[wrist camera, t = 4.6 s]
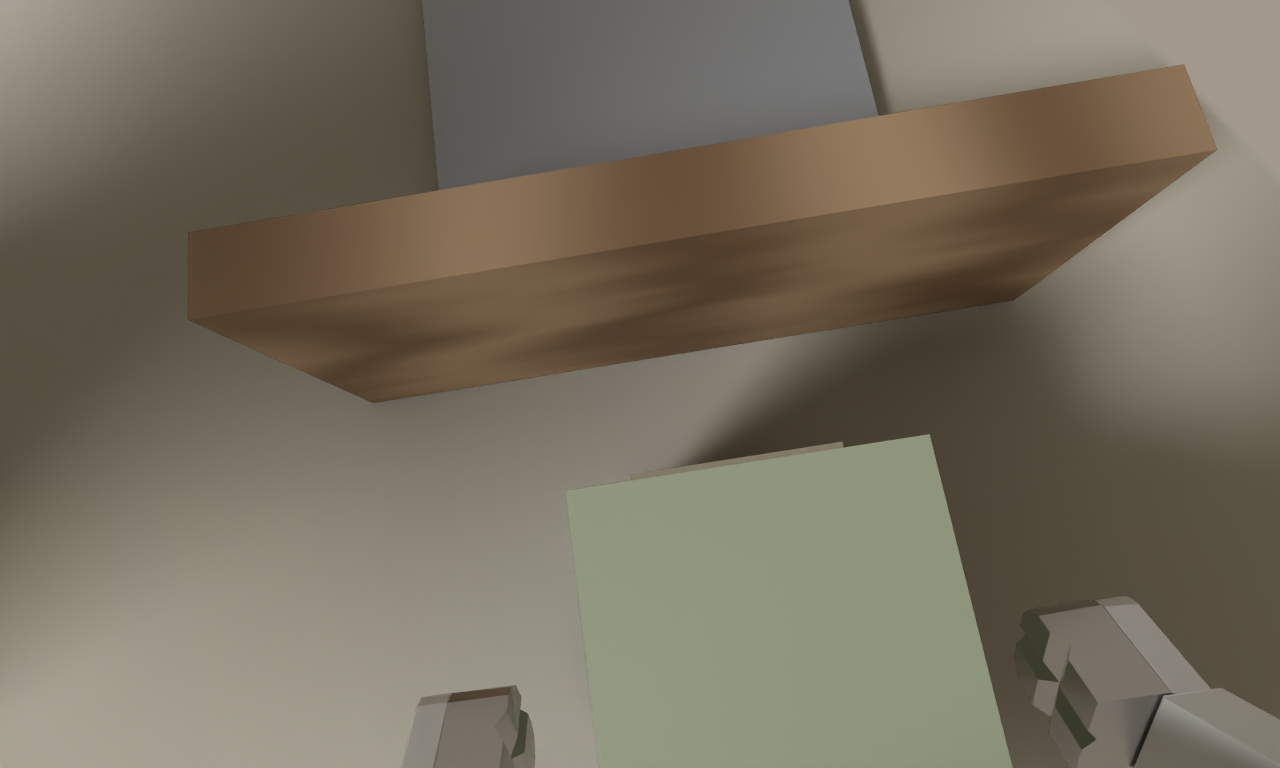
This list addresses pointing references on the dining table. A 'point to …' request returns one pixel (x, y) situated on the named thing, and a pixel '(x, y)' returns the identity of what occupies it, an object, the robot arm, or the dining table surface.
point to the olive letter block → (782, 615)
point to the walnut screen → (699, 241)
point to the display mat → (629, 78)
